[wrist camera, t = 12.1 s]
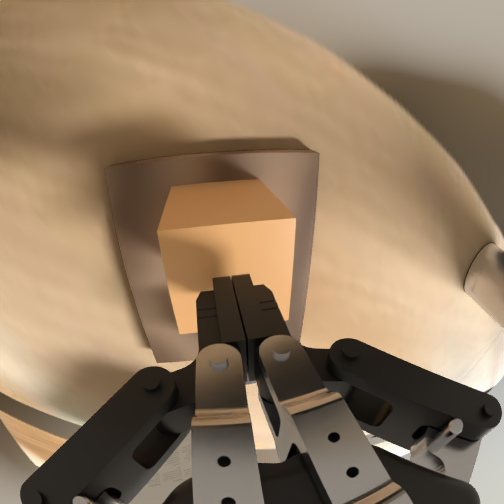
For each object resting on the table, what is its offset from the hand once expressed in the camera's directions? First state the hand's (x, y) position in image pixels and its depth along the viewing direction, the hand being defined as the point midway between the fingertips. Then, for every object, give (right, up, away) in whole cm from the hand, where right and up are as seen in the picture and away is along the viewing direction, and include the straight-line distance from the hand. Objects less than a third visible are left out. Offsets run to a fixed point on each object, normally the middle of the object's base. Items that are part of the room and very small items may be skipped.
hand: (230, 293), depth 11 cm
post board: (-2, 0, +10) cm, 10 cm away
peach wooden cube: (-1, +4, +7) cm, 8 cm away
